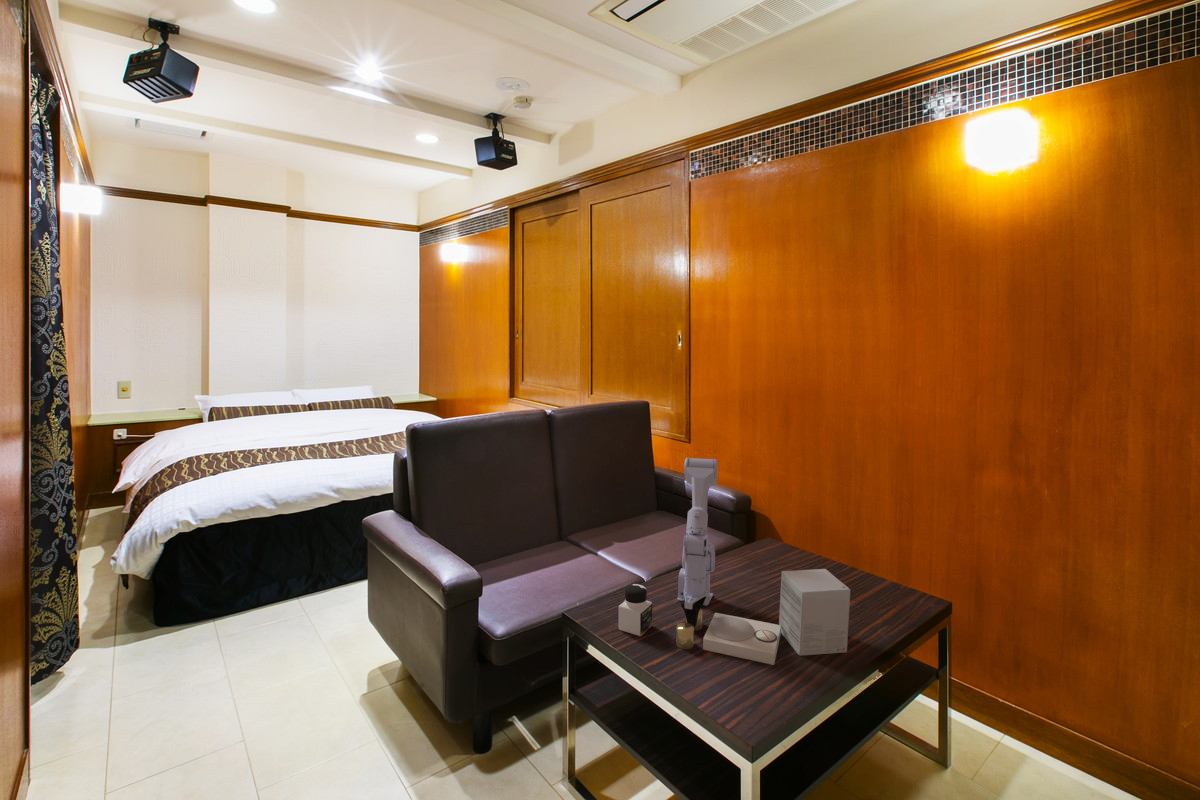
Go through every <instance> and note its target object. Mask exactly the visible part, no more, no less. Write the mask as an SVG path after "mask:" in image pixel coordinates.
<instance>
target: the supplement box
mask: <svg viewBox="0 0 1200 800" xmlns="http://www.w3.org/2000/svg"><path fill="white" fill-rule="evenodd" d="M779 600H780V601H779V614H778V615H779V618H778V619H779V620H778V625H781V634H782V636H783V637H784V639H785V640H786V641H787V642H788V644H789V645H790V646H791V647H792V649H793V650H794V651H795V652H796V654H797V655H799V656H813V655H825V654H830V655H831V654H840V653H847V652H848V639H849V638H848V637H849V622H850V621H849V619H850V605H851V604H850V602H851V601H850V600H851V589H850V588H849V587H848V586H847V585H846V584H845V583H843V582H842V581H841V580H839V579H838V578H837V577H836V576H835V575H833V573H831V572H830V571H829V570H827V569H826V568H819V569H818V568H817V569H816V568H815V569H803V570H802V569H801V570H782V571H781V578H780V597H779Z"/></svg>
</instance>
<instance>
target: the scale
mask: <svg viewBox="0 0 1200 800" xmlns="http://www.w3.org/2000/svg"><path fill="white" fill-rule="evenodd" d="M781 634H782V633H781V625H779V624H776V623H771V622H765V621H762V620H761V621H760V620H756V619H750V618H745V617H741V616H734V615H731V614H730V615H729V614H725V613H720V612H715V613H714V614H713V617H712V618H711V621H710V623H709V625H708V628H707V630H706V631H705V633H704V636H703V641H702V650H704V651H708V652H713V653H717V654H722V655H726V656H731V657H736V658H740V659H744V660H749V661H754V662H759V663H764V664H768V665H771V666H772V665H773V666H774V665H775V663H776V662H775V661H776V658H777V653H778V649H779V643H780V639H781Z"/></svg>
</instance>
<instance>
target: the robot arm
mask: <svg viewBox="0 0 1200 800" xmlns="http://www.w3.org/2000/svg"><path fill="white" fill-rule="evenodd" d="M718 464H719V463H718V460H717V458H714V459H713V458H695V457H694V458H693V457H692V458H691V457H690V458H689V457H686V458H685V460H684V466H683V467H684V468H683V469H684V470H683V472H684V474H683V475H684V480H685V481H686V484H687V485H690V486H691V496H692V497H691V499H692V500H691V501H692V502H691V503H692V506H691V508H690V509H689V510H688V511H687V518H686V519H687V520H686V531H685V535H684V536H683V544H682V545H683V546H682V547H683V548H682V555H681V556H682V558H681V567H682V568H680V570H679V573H678V582H677V583H678V587H677V589H678V590H677V601H679V602H680V606H681V608H682V609H683V612H684V614H685V615H684V616H685V621H686V620H687V623H689V624H691V625H693V627H695V626H696V624H697V618H698V614H699V610H700V609H702V610H703V606H706V607H708V605H709V604H710V602H711V599H712V598H713V596H714V593H713V592H710V591H711V573H713V572H714V571H715V566H716V565H715V564H716V552H715V551H716V548H715V546H714V544H713V543H711V542H710V541H709V537H708V521H709V519H708V517H709V513H708V497H709V495H708V494H709V490H710V488H711V487H713V486H716V485H717V483H718V482H717V481H718V467H719V465H718Z"/></svg>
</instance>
